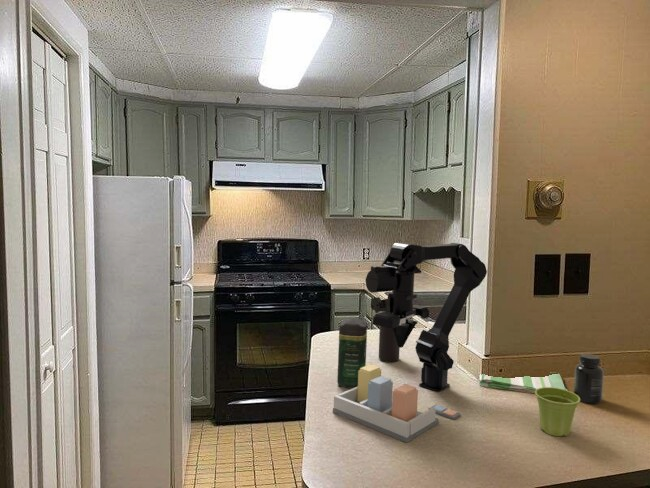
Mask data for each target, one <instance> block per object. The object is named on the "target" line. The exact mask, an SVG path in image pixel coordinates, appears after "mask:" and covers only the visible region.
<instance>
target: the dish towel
mask: <svg viewBox="0 0 650 488" xmlns="http://www.w3.org/2000/svg"><path fill="white" fill-rule="evenodd" d="M479 374H480V373H479ZM478 378H479V384H478V385H479V387H484V388H491V389H500V390H507V391H515V392H522V393H528V394H529V393H530V394H531V393H532V394H535V391H536V390H537V389H538V388H543V387H552V388H559V389H564V390H567V391H569V390H568V389H567V388H566V387H565V385H564V381H563V378H562V376H561V375H560V373H558V374H552V375H549V376H545V377H530V376H524V377H515V378H502V377H493V376H488V375H485V374H482V375H481V374H480V375H479V377H478Z"/></svg>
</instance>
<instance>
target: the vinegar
mask: <svg viewBox="0 0 650 488" xmlns="http://www.w3.org/2000/svg"><path fill="white" fill-rule="evenodd" d="M382 312H385V313H388V312H386V311H382ZM390 314H392V313H390ZM378 334H379V336H378V338H379V340H378V359H379V360H380V361H382V362H384V363H396V362H398V361H399V360H400V349H401V348H400V347H398V345H397V341H396V338H395V334H394V332H393V329H392V328H386V327H382V326H379V333H378Z"/></svg>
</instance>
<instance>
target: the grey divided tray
mask: <svg viewBox="0 0 650 488" xmlns="http://www.w3.org/2000/svg"><path fill="white" fill-rule="evenodd" d="M367 405H368V399H366V400H364V401H362V402H358V386H357V387H355V388H349V389H348V390H346V391H343V392H341V393H339V394H337V395H333V408H332V413H334V414H337V415H339V416H342V417H344V418H345V419H349V420H351V421H354V422H356V423H359V424H361V425H363V426H365V427H368V428H370V429H373V430H375V431H376V432H377V431H378V432H380V433H383V434H385V435H387V436H389V437H392V438H395V439H397V440H399V441H402V442H404V443H408V442H410V441H412V440H413V439H415V438H416V437H418V436H420V435H421V434H423V433H425V432H426V431H429V430H430V429H431V428H433V427H434V426H437V424H439V423H440V420H439V418H437V417H436V408H431V409H429V408H428V409H427V410H425V411H424V412H420V411H418V410H417V417H415V418H413V419H411V420H409V421H408V422H406V421H403V420H401V419H398V418H395V417H393V416H392V407H391V408H389V409H387V410H385V411H383V413H382V412H380V411H377V410H374V409H372V408H369V407H367ZM429 428H430V429H429Z"/></svg>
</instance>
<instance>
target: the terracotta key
mask: <svg viewBox="0 0 650 488" xmlns="http://www.w3.org/2000/svg"><path fill="white" fill-rule="evenodd" d="M418 395H419V389H417V387H416V386H413V385H410V384H407V383H404V384H402V385H400V386H398V387H396V388H394V390H392V416H393V417H395V418H398V419H401V420H403V421H406V422H408V421H409V420H411V419H413V418H415V417H417V411H418V400H419V399H418V398H419V397H418Z"/></svg>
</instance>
